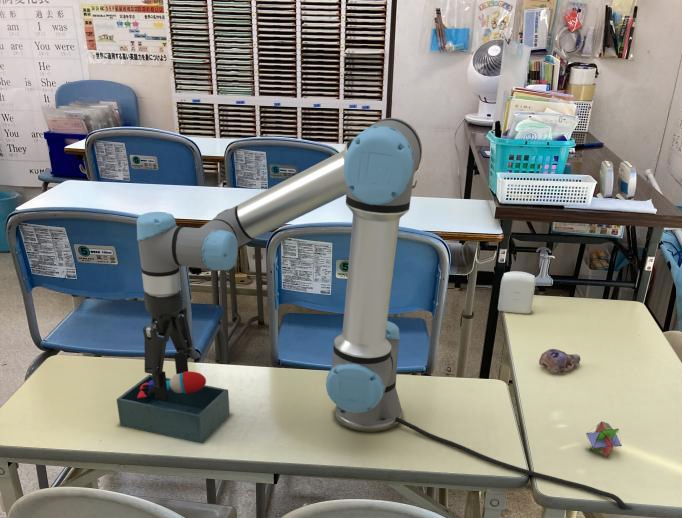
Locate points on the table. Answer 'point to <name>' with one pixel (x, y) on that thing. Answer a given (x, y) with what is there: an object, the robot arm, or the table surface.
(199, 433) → the tote
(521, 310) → the photo printer
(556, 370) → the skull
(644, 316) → the table surface
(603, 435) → the geometric puzzle
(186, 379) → the toy figure
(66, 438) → the table surface
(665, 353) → the table surface
